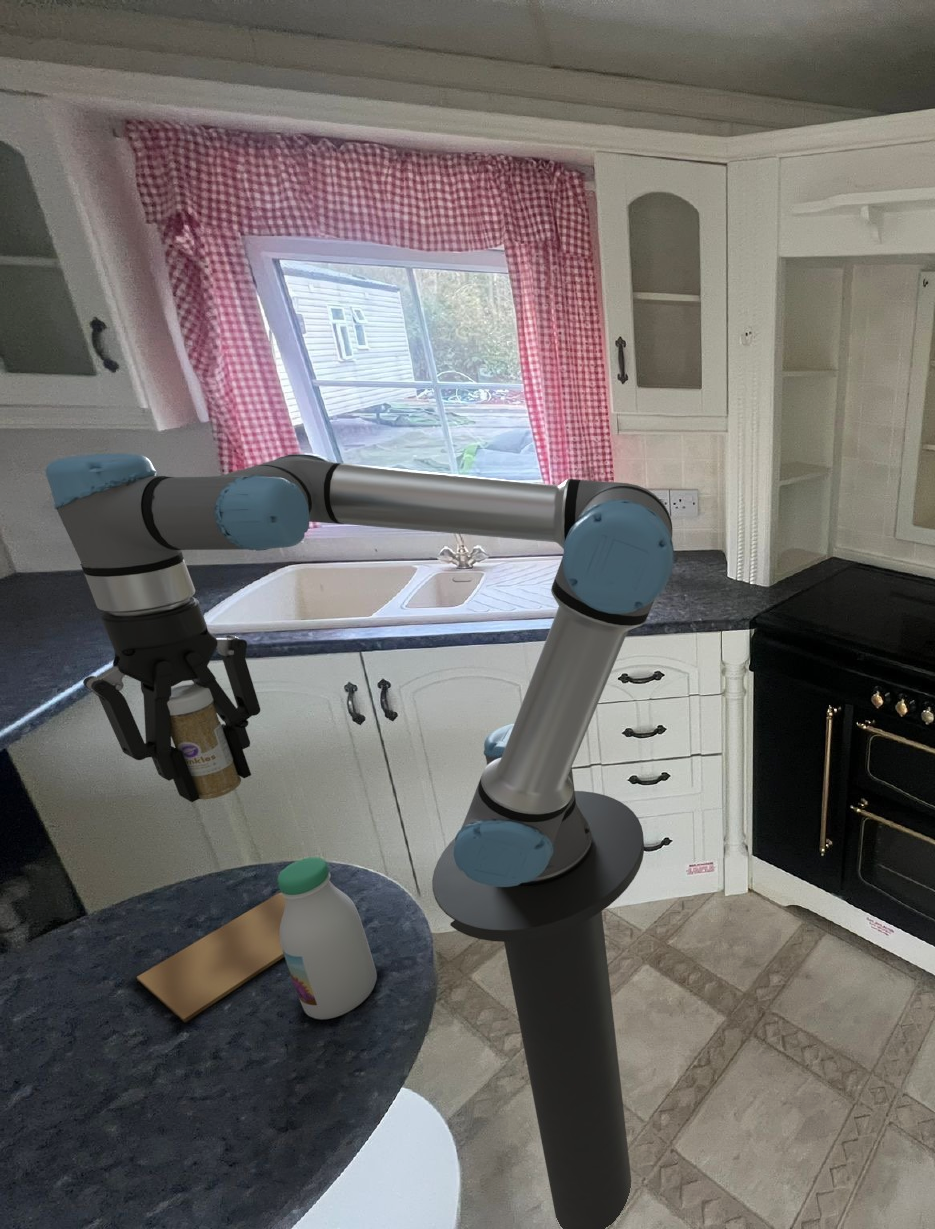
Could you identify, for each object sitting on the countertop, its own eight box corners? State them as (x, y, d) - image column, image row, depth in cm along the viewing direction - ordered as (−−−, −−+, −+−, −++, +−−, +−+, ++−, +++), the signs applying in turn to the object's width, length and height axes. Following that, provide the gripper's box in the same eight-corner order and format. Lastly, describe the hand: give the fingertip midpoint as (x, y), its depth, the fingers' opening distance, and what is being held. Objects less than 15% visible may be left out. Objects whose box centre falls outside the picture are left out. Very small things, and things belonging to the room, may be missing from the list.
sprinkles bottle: (187, 805, 76) (147, 704, 71) (199, 783, 79) (161, 685, 74) (237, 794, 78) (202, 695, 73) (247, 773, 81) (213, 678, 76)
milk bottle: (383, 959, 87) (349, 839, 80) (371, 1009, 81) (333, 884, 73) (313, 977, 84) (271, 855, 77) (295, 1030, 78) (247, 903, 70)
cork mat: (280, 895, 96) (279, 892, 96) (328, 927, 92) (327, 924, 91) (137, 980, 83) (136, 976, 83) (184, 1022, 78) (183, 1019, 78)
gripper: (228, 575, 78) (280, 741, 87) (14, 624, 64) (102, 817, 72) (263, 586, 76) (314, 756, 84) (48, 639, 61) (136, 839, 69)
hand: (216, 784), depth 78 cm, fingers closed on sprinkles bottle, 4 cm apart
